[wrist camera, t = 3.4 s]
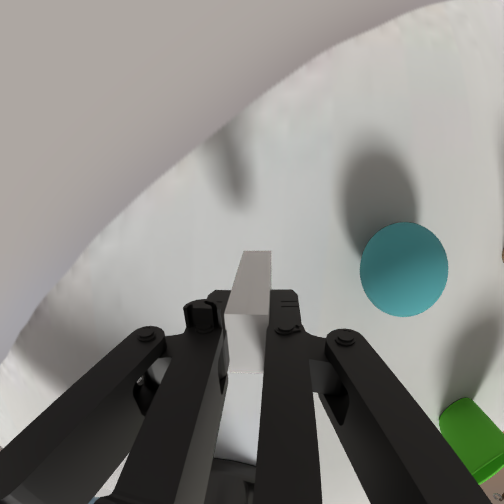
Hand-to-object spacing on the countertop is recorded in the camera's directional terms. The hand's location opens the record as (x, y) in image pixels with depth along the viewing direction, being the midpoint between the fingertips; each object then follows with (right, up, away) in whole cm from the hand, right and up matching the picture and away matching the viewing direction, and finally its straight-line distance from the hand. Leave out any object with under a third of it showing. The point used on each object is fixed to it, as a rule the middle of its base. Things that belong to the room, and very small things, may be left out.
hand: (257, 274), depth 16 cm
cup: (+25, -19, +9) cm, 33 cm away
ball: (+9, 0, +1) cm, 9 cm away
